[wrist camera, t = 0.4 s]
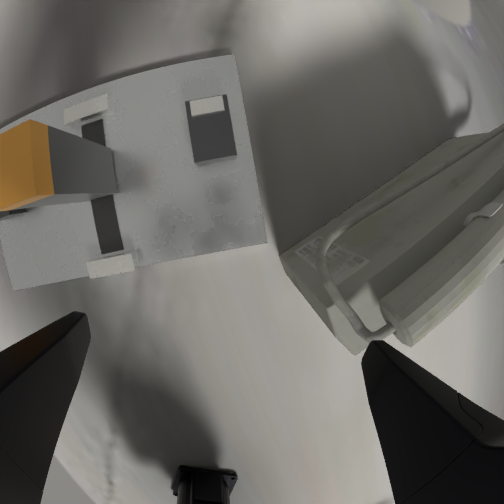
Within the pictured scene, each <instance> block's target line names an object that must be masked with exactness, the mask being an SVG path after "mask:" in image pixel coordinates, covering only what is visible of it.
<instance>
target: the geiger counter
mask: <svg viewBox="0 0 504 504" xmlns="http://www.w3.org/2000/svg"><path fill="white" fill-rule="evenodd" d="M280 259H281V262H282V264H283V267H284V269H285V272H286V274H287V276H288V277H289V278H290V280H291V281H292V282H293V283H294V285H295V286H296V287H297V288H298V290H299V291H300V292H301V294H302V295H303V296H304V297H305V299H306V300H307V301H308V303H309V304H310V305H311V306H312V308H313V309H314V310H315V312H316V313H317V314H318V315H319V317H320V318H321V319H322V321H323V322H324V323H325V324H326V326H327V327H328V328H329V330H330V331H331V332H332V333H333V335H334V336H335V337H336V338H337V339H338V340H339V341H340V342H341V343H342V344H343V345H344V346H345V347H346V348H347V349H348V350H349V351H350V352H351V353H352V354H353V355H357V354H358V353H360V352H361V351H362V350H364V349H365V348H367V347H368V345H369V343H370V342H371V341H372V340H383V339H384V338H386V337H387V336H389V335H390V334H392V333H393V334H394V335H395V336H396V338H397V339H398V340H399V341H400V342H402V343H403V344H405V345H407V346H409V347H412V346H414V345H415V344H416V343H417V342H418V341H420V340H421V339H422V338H423V337H424V336H426V335H427V334H428V333H429V332H430V331H431V330H433V329H434V328H435V327H436V326H437V325H438V324H439V323H441V322H442V321H443V320H444V319H445V318H446V317H447V316H448V315H449V314H451V313H452V312H453V311H454V310H455V309H456V308H457V307H458V306H459V305H460V304H461V303H462V302H463V301H464V300H465V299H466V298H467V297H468V296H469V295H470V294H471V293H472V292H473V291H474V290H475V289H476V288H477V287H478V286H479V285H480V284H481V283H482V282H483V281H484V280H485V279H486V278H487V277H488V276H489V275H490V273H491V272H492V271H493V270H494V269H495V268H496V267H497V266H498V265H499V264H502V265H504V124H502V125H501V126H499V127H498V128H496V129H494V130H493V131H491V132H489V133H482V134H475V135H468V136H462V137H455V138H450V139H448V140H447V141H445V142H444V143H442V144H441V145H440V146H438V147H437V148H435V149H434V150H432V151H431V152H430V153H428V154H427V155H425V156H424V157H423V158H421V159H420V160H418V161H417V162H415V163H414V164H413V165H411V166H410V167H408V168H407V169H405V170H404V171H403V172H401V173H400V174H398V175H397V176H395V177H394V178H392V179H391V180H390V181H388V182H387V183H385V184H384V185H382V186H381V187H379V188H378V189H377V190H375V191H374V192H372V193H371V194H369V195H368V196H366V197H365V198H363V199H362V200H361V201H359V202H358V203H356V204H355V205H353V206H352V207H350V208H349V209H347V210H346V211H344V212H343V213H341V214H340V215H339V216H337V217H336V218H334V219H333V220H331V221H330V222H328V223H327V224H325V225H324V226H322V227H321V228H319V229H318V230H316V231H315V232H313V233H312V234H310V235H309V236H307V237H306V238H304V239H303V240H301V241H300V242H298V243H297V244H295V245H294V246H292V247H291V248H289V249H288V250H286V251H285V252H283V253H282V254H280Z"/></svg>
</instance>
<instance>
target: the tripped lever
mask: <svg viewBox="0 0 504 504" xmlns="http://www.w3.org/2000/svg"><path fill="white" fill-rule="evenodd" d="M115 193H118V192H117V186H116V179H115V173H114V166H113V159H112V151H111V148H108V147H105V146H103V145H100V144H98V143H95V142H92V141H90V140H87V139H84V138H82V137H79V136H76V135H73V134H71V133H68V132H65V131H62V130H60V129H57V128H54V127H51V126H48V125H46V124H43V123H40V122H37V121H34V120H31V119H29V120H27V121H25V122H23V123H21V124H19V125H17V126H15V127H13V128H11V129H9V130H7V131H6V132H4V133H2V134H0V211H7V210H15V209H23V208H31V207H39V206H48V205H58V204H67V203H78V202H85V201H89V200H92V199H96V198H100V197H104V196H107V195H111V194H115Z"/></svg>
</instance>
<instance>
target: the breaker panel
mask: <svg viewBox="0 0 504 504" xmlns="http://www.w3.org/2000/svg"><path fill="white" fill-rule="evenodd" d="M29 119H31V120H34V121H37V122H40V123H43V124H46V125H48V126H51V127H54V128H57V129H60V130H62V131H65V132H68V133H71V134H73V135H76V136H79V137H82V138H84V139H87V140H90V141H92V142H95V143H98V144H100V145H103V146H105V147H108V148H111V151H112V159H113V166H114V173H115V179H116V186H117V192H118V193H115V194H111V195H107V196H104V197H100V198H96V199H92V200H89V201H85V202H78V203H67V204H58V205H48V206H39V207H31V208H23V209H15V210H7V211H0V240H1V245H2V249H3V254H4V258H5V262H6V266H7V270H8V274H9V278H10V281H11V285H12V288H13V291H15V290H20V289H25V288H30V287H35V286H41V285H46V284H51V283H56V282H61V281H66V280H71V279H77V278H82V277H87V276H90V279H93V278H98V277H103V276H109V275H114V274H119V273H125V272H130V271H135V270H136V269H137V268H138V267H140V266H145V265H150V264H155V263H160V262H166V261H171V260H176V259H182V258H187V257H192V256H198V255H203V254H209V253H214V252H219V251H225V250H230V249H236V248H241V247H247V246H252V245H257V244H263V243H267V237H266V231H265V225H264V218H263V212H262V206H261V200H260V194H259V188H258V183H257V177H256V171H255V165H254V159H253V153H252V148H251V142H250V136H249V131H248V125H247V119H246V114H245V108H244V103H243V97H242V92H241V86H240V81H239V76H238V70H237V65H236V60H235V54H232V55H225V56H218V57H211V58H205V59H199V60H194V61H188V62H183V63H178V64H174V65H169V66H165V67H160V68H156V69H152V70H148V71H144V72H141V73H137V74H133V75H130V76H126V77H123V78H120V79H116V80H113V81H110V82H107V83H104V84H101V85H98V86H95V87H92V88H90V89H87V90H84V91H81V92H79V93H76V94H74V95H71V96H68V97H66V98H64V99H61V100H59V101H56V102H54V103H52V104H49V105H47V106H45V107H43V108H40V109H38V110H36V111H34V112H32V113H30V114H28V115H26V116H24V117H22V118H20V119H18V120H16V121H14V122H12V123H10V124H8V125H6V126H5V127H3V128H1V129H0V134H2V133H4V132H6V131H7V130H9V129H11V128H13V127H15V126H17V125H19V124H21V123H23V122H25V121H27V120H29Z"/></svg>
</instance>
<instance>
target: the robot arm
mask: <svg viewBox="0 0 504 504" xmlns="http://www.w3.org/2000/svg"><path fill="white" fill-rule="evenodd" d="M90 338H91V335H90V329H89V324H88V318H87V315H86V314H85V313H82V312H77V311H74V312H72V313H70V314H68V315H66V316H64V317H62V318H60V319H59V320H57V321H55V322H53V323H51V324H49V325H48V326H46V327H44V328H42V329H40V330H38V331H37V332H35V333H33V334H31V335H29V336H28V337H26V338H24V339H22V340H20V341H19V342H17V343H15V344H13V345H12V346H10V347H8V348H6V349H5V350H3V351H1V352H0V504H40V503H41V498H42V494H43V490H44V485H45V482H46V478H47V474H48V471H49V467H50V464H51V460H52V457H53V453H54V450H55V447H56V444H57V441H58V437H59V434H60V431H61V428H62V425H63V422H64V420H65V417H66V414H67V411H68V408H69V406H70V403H71V400H72V397H73V395H74V392H75V390H76V387H77V384H78V381H79V378H80V375H81V371H82V367H83V364H84V360H85V357H86V353H87V350H88V346H89V343H90ZM361 365H362V370H363V375H364V381H365V386H366V391H367V397H368V401H369V405H370V409H371V412H372V416H373V419H374V423H375V426H376V430H377V433H378V437H379V441H380V444H381V448H382V452H383V455H384V459H385V463H386V467H387V471H388V475H389V479H390V483H391V487H392V492H393V496H394V500H395V504H504V420H502V419H500V418H499V417H497V416H495V415H493V414H492V413H490V412H488V411H487V410H485V409H483V408H482V407H480V406H478V405H477V404H475V403H474V402H472V401H470V400H469V399H467V398H466V397H464V396H463V395H462V394H460V393H457V391H456V390H454V389H453V388H451V387H450V386H449V385H447V384H446V383H444V382H443V381H441V380H440V379H438V378H437V377H435V376H434V375H433V374H431V373H430V372H428V371H427V370H425V369H424V368H422V367H421V366H419V365H418V364H417V363H415V362H414V361H412V360H411V359H409V358H408V357H406V356H405V355H404V354H402V353H401V352H399V351H398V350H396V349H395V348H393V347H392V346H390V345H389V344H388V343H386V342H385V341H383V340H372V341H371V342H370V343H369V345H368V347H367V349H366V351H365V353H364V356H363V358H362V362H361ZM237 479H238V478H237V475H236V474H233V473H224V472H217V471H209V470H203V469H197V468H191V467H186V466H180V467H178V471H177V476H176V480H175V485H174V490H173V495H175V496H178V497H177V504H230V497H229V496H230V494H231V492H232V489H233V487H234V485H235V483H236V481H237Z"/></svg>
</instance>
